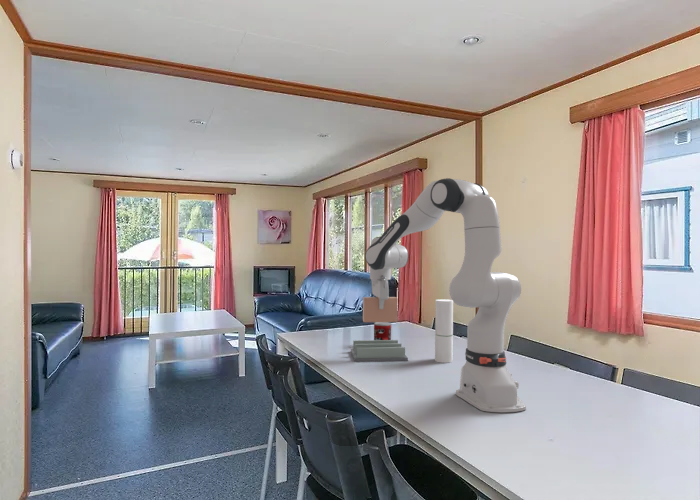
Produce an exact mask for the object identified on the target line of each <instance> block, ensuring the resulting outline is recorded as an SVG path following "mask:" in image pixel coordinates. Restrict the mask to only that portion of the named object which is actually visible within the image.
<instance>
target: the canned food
mask: <svg viewBox="0 0 700 500" xmlns="http://www.w3.org/2000/svg"><path fill="white" fill-rule="evenodd" d="M373 340H392V322H373Z"/></svg>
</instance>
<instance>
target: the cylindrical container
mask: <svg viewBox="0 0 700 500" xmlns="http://www.w3.org/2000/svg"><path fill="white" fill-rule="evenodd" d="M434 312H435V317H434V318H435V322H434V330H435V331H434V333H435V334H434V361H435V362H437V363H443V364H449V363H452V362H453V356H454V355H453V352H454V349H453V346H454V345H453V340H454V302H453V300H452V299H448V298H447V299H444V298H443V299H441V298H440V299H435V311H434Z"/></svg>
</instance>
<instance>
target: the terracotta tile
mask: <svg viewBox="0 0 700 500" xmlns="http://www.w3.org/2000/svg"><path fill="white" fill-rule="evenodd" d="M362 321H363V323H375V322H389V323H398V297H396V296H389V298H388V300H384V308H383V309H379V298H378V297H376V296H363V297H362Z"/></svg>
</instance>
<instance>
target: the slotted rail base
mask: <svg viewBox="0 0 700 500" xmlns="http://www.w3.org/2000/svg"><path fill="white" fill-rule="evenodd" d="M352 344H353V345H352V347H353V348H350V354H351V356H352V359H353V361H354V362H355V363H357V362H358V363H361V362H366V363H367V362H409V358H408V356H407V355H406V347H404V346H402V343H399V340H398V339H391V340H374V339H373V340H371V339H369V340H367V339H364V340H363V339H362V340H360V339H359V340H356V339H355V340H352Z"/></svg>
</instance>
